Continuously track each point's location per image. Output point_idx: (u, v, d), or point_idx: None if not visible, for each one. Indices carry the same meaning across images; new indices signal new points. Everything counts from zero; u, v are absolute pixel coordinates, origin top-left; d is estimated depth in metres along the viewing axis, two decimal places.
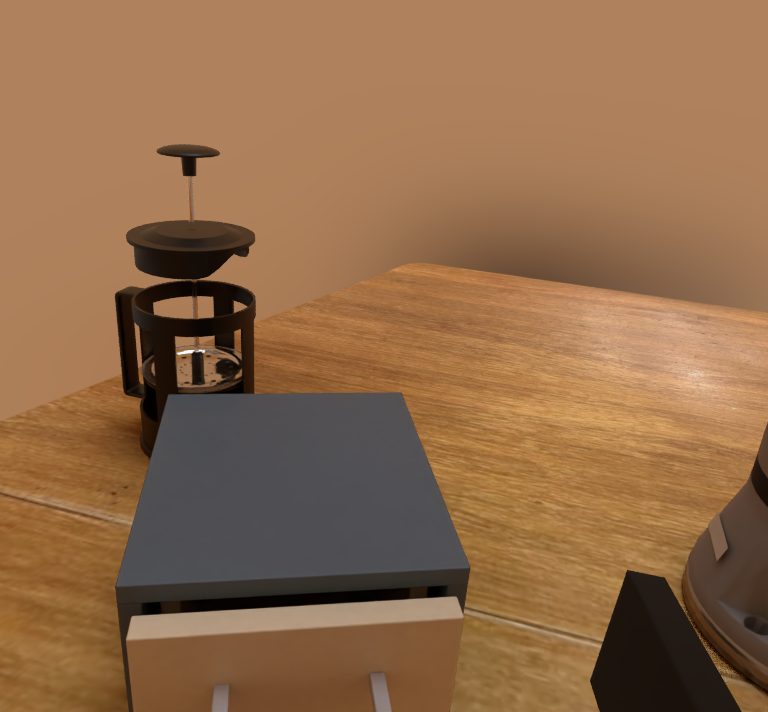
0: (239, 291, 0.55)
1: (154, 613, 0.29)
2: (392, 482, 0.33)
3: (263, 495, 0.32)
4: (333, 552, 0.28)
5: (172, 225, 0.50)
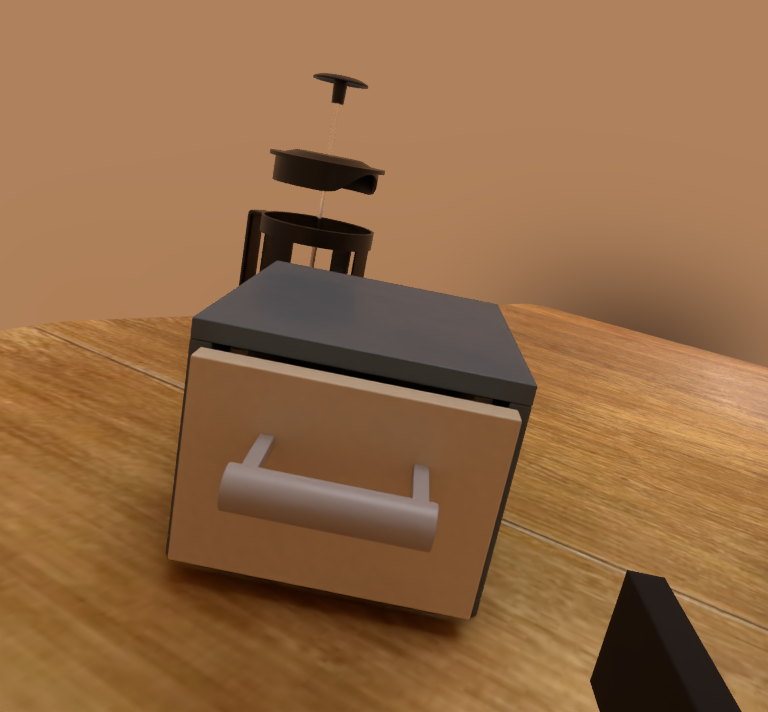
0: (360, 231, 0.58)
1: None
2: (472, 335, 0.33)
3: (344, 313, 0.32)
4: (401, 349, 0.28)
5: None
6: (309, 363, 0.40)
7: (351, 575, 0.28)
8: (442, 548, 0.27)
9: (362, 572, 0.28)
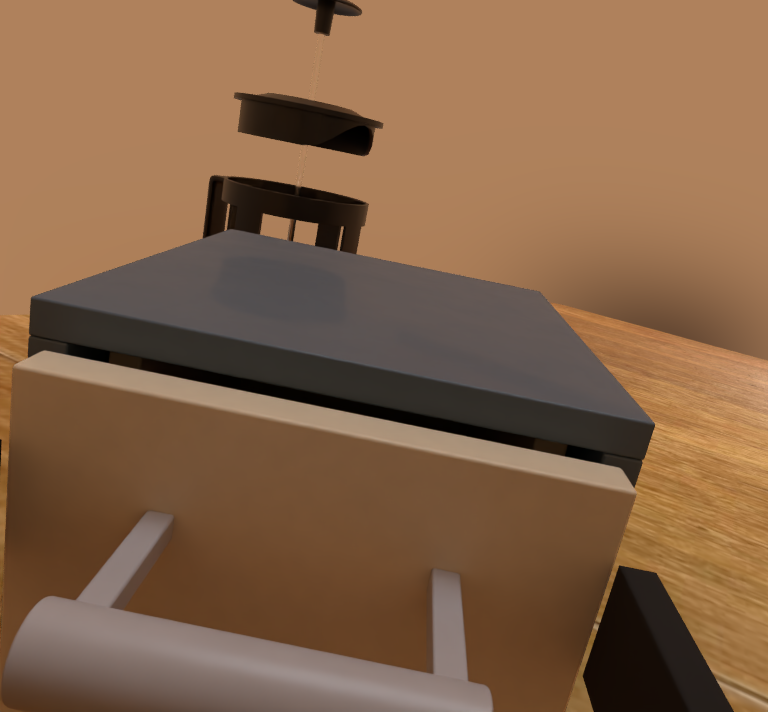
0: (351, 204, 0.45)
1: None
2: (519, 334, 0.21)
3: (316, 298, 0.20)
4: (408, 356, 0.16)
5: None
6: None
7: None
8: None
9: None
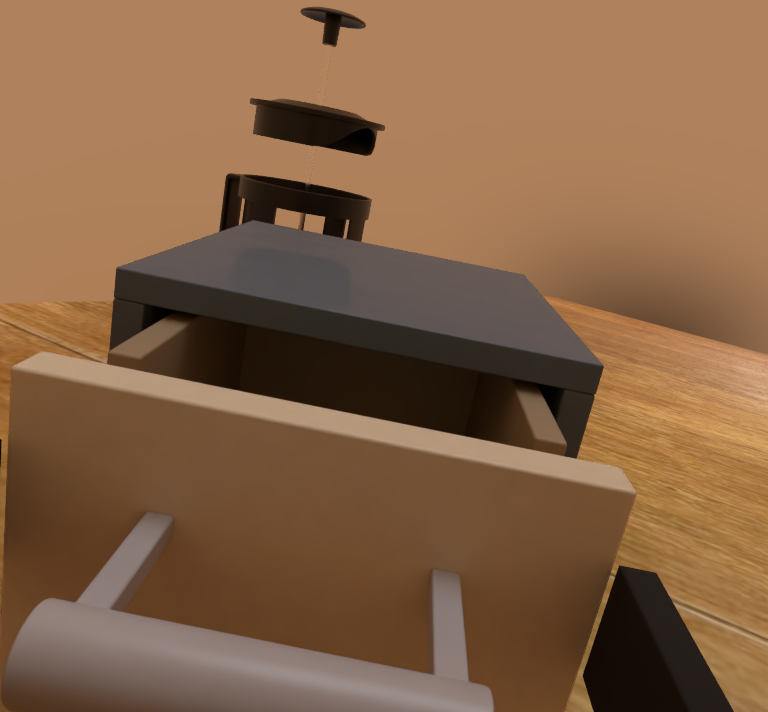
0: (356, 199, 0.50)
1: None
2: (502, 304, 0.25)
3: (333, 274, 0.24)
4: (410, 315, 0.20)
5: None
6: (271, 373, 0.28)
7: None
8: None
9: None
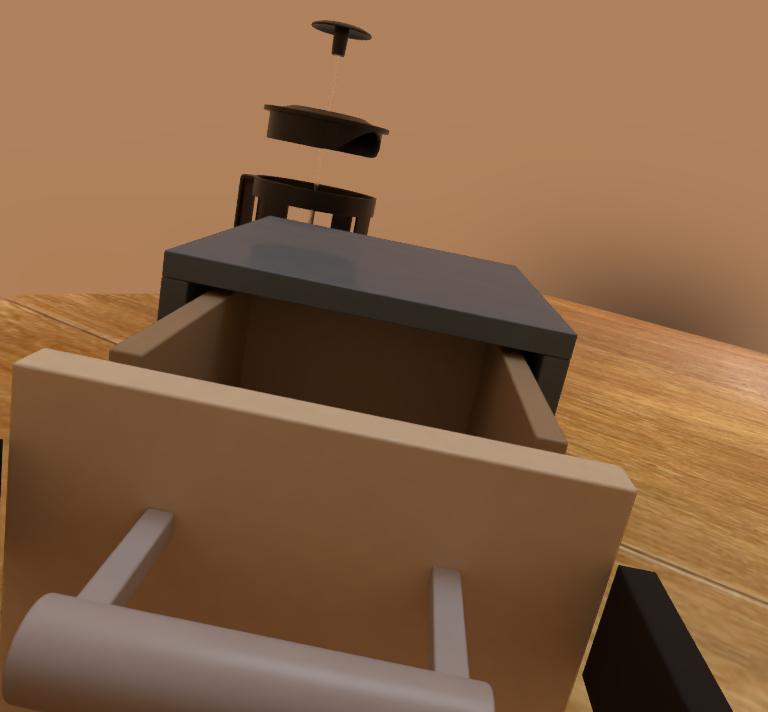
0: None
1: None
2: (493, 288, 0.28)
3: (346, 260, 0.28)
4: (413, 293, 0.24)
5: None
6: (272, 373, 0.28)
7: None
8: None
9: None
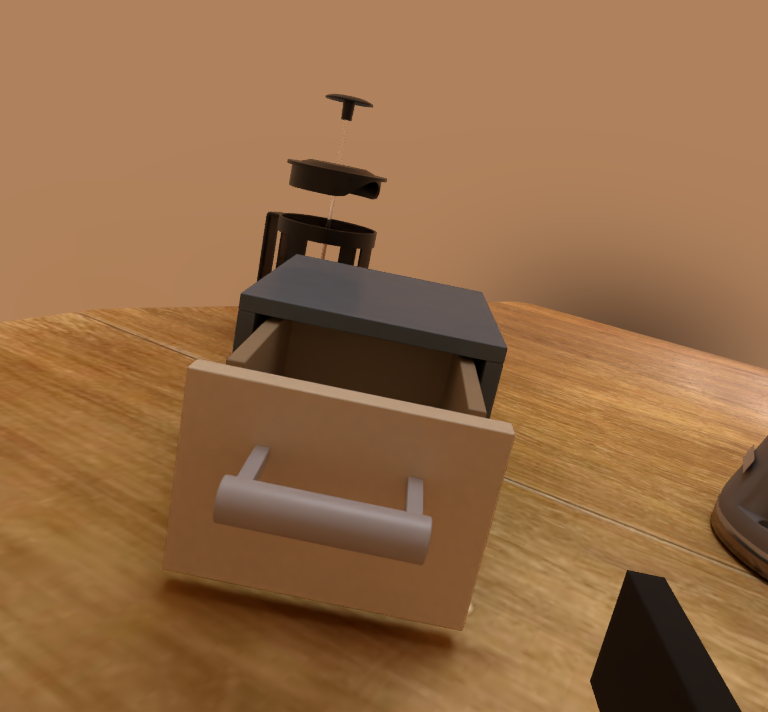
0: (364, 231, 0.65)
1: None
2: (459, 313, 0.41)
3: (356, 294, 0.40)
4: (402, 320, 0.36)
5: (324, 161, 0.62)
6: (305, 373, 0.40)
7: (345, 586, 0.28)
8: (436, 560, 0.27)
9: (356, 583, 0.28)
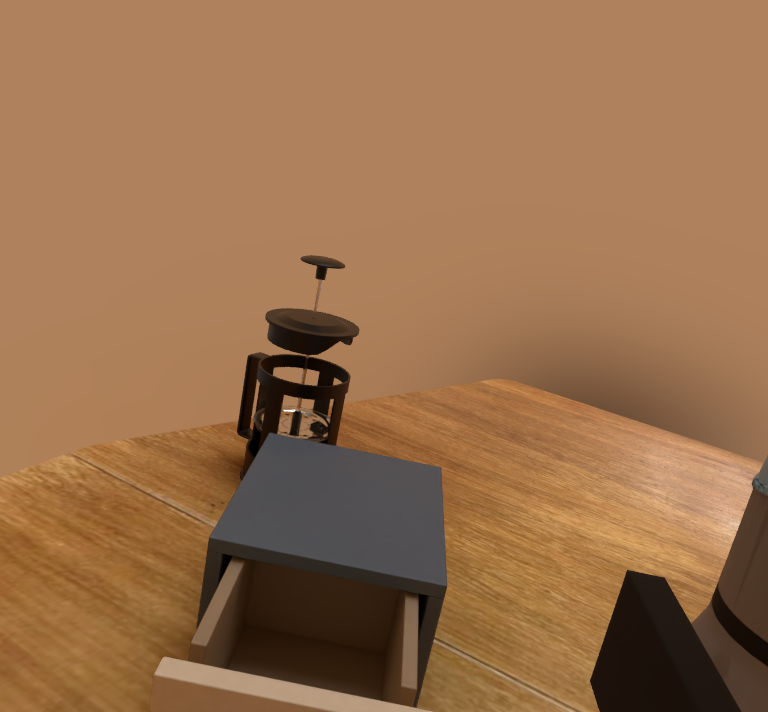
0: (340, 371, 0.70)
1: None
2: (411, 523, 0.45)
3: (317, 509, 0.44)
4: (354, 553, 0.40)
5: (300, 312, 0.66)
6: (271, 579, 0.44)
7: None
8: None
9: None
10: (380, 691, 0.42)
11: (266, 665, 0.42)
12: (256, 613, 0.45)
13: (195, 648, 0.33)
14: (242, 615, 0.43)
